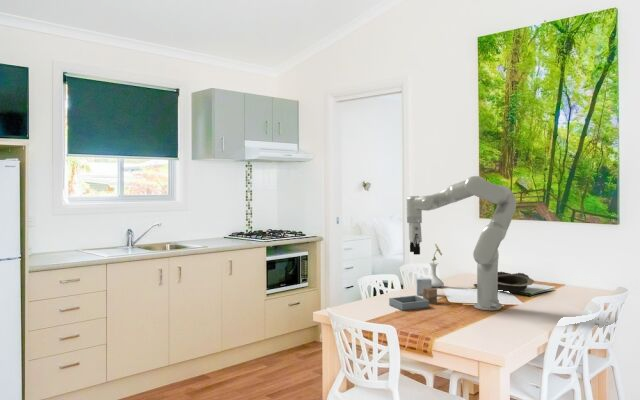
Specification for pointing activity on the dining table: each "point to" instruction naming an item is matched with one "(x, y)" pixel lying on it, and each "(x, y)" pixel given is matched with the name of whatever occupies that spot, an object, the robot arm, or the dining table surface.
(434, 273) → the flower in vase
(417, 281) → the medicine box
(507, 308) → the dining table surface
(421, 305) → the tray
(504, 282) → the stone bowl
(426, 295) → the walnut block
